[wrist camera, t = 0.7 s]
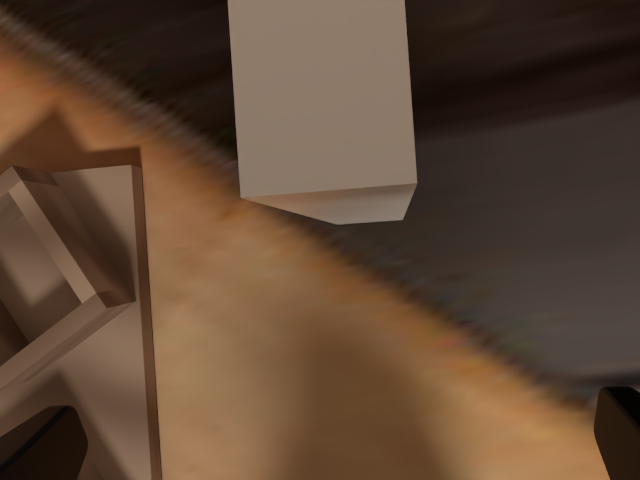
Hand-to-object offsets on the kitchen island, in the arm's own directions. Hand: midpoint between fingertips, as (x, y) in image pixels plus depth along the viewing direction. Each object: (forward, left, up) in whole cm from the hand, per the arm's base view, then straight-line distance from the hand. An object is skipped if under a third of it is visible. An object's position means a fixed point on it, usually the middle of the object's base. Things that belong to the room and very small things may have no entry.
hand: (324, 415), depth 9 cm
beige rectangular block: (+6, 0, -15) cm, 16 cm away
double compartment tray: (-4, +16, -15) cm, 22 cm away
